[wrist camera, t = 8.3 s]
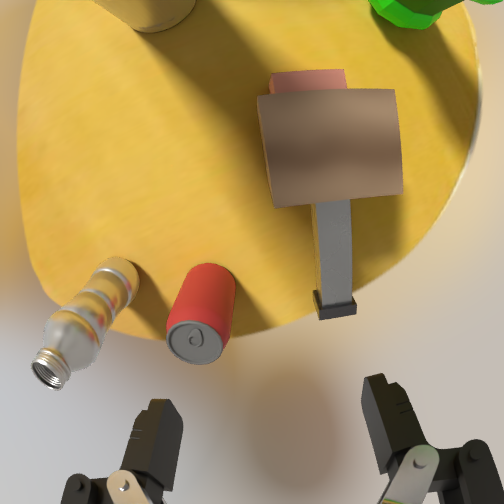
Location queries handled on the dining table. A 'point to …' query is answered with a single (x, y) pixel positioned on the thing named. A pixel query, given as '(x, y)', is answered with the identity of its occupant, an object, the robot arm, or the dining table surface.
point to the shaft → (333, 259)
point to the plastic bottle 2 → (416, 11)
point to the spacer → (307, 80)
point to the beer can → (202, 315)
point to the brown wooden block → (330, 145)
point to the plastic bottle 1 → (84, 322)
